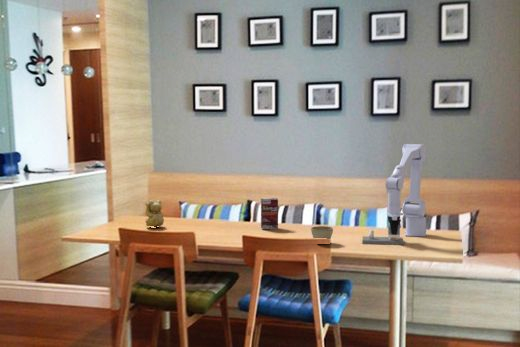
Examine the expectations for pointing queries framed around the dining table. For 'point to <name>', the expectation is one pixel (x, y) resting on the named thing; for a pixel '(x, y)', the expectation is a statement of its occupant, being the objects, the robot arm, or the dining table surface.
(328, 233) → the flower pot
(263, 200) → the supplement box
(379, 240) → the pin board
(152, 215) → the decorative figurine
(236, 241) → the dining table surface
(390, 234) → the sleeve
